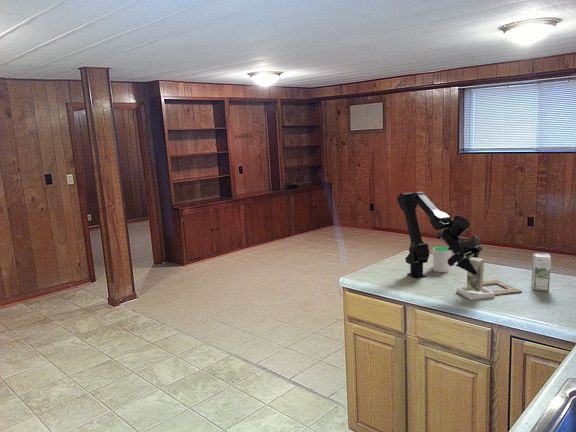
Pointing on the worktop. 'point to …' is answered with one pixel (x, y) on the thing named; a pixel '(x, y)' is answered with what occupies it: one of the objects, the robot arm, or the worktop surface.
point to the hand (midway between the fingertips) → (478, 272)
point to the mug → (441, 259)
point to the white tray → (475, 293)
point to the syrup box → (541, 271)
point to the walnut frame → (507, 289)
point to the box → (475, 280)
